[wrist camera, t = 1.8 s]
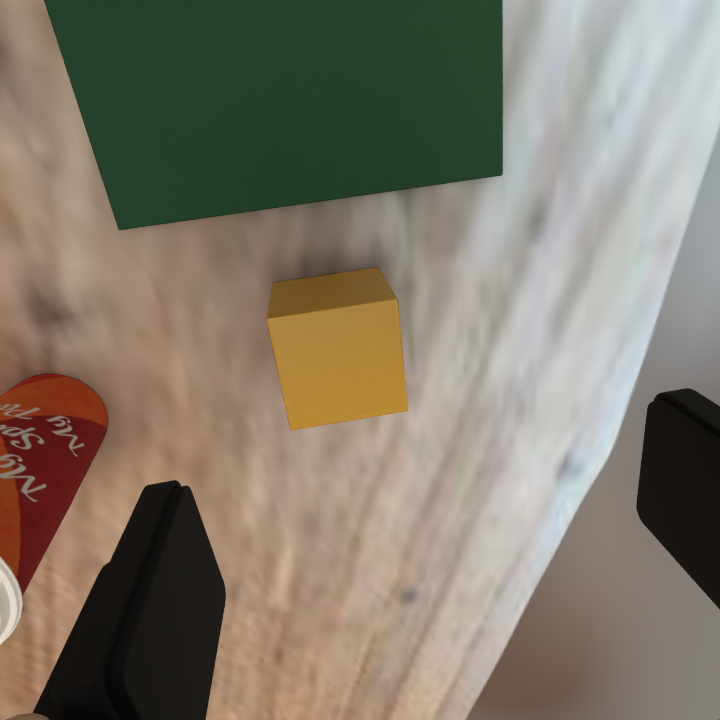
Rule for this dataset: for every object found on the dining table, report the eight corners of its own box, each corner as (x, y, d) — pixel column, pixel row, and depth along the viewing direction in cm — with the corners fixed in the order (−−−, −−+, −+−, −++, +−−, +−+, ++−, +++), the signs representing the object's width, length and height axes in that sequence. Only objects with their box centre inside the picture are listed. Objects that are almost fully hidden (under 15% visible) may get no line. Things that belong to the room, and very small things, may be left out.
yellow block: (291, 377, 30) (290, 430, 25) (272, 282, 28) (266, 318, 22) (388, 362, 31) (408, 411, 25) (378, 266, 28) (397, 298, 23)
